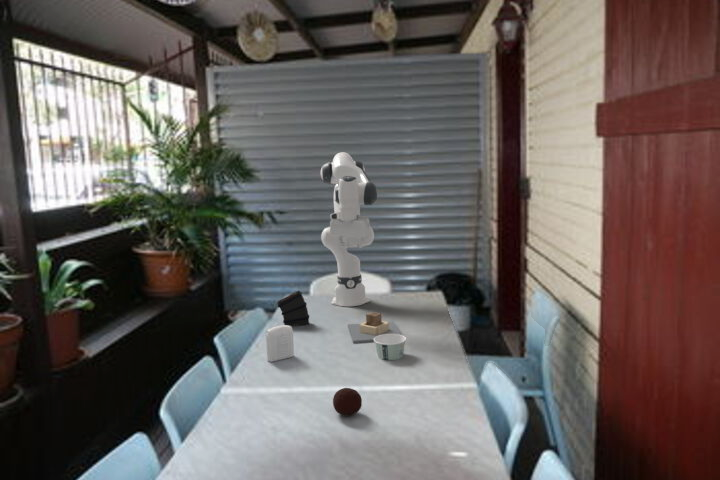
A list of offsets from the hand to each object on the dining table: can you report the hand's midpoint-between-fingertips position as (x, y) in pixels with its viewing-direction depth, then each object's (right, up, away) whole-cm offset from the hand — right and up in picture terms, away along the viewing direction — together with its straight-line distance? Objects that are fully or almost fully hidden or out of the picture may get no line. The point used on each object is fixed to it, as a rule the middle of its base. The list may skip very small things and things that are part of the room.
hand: (351, 247), depth 250 cm
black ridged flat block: (-25, -34, +8) cm, 44 cm away
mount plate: (+10, -35, -8) cm, 37 cm away
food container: (+15, -40, -35) cm, 55 cm away
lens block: (+10, -34, -8) cm, 37 cm away
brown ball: (0, -47, -81) cm, 94 cm away
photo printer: (-25, -41, -33) cm, 59 cm away
